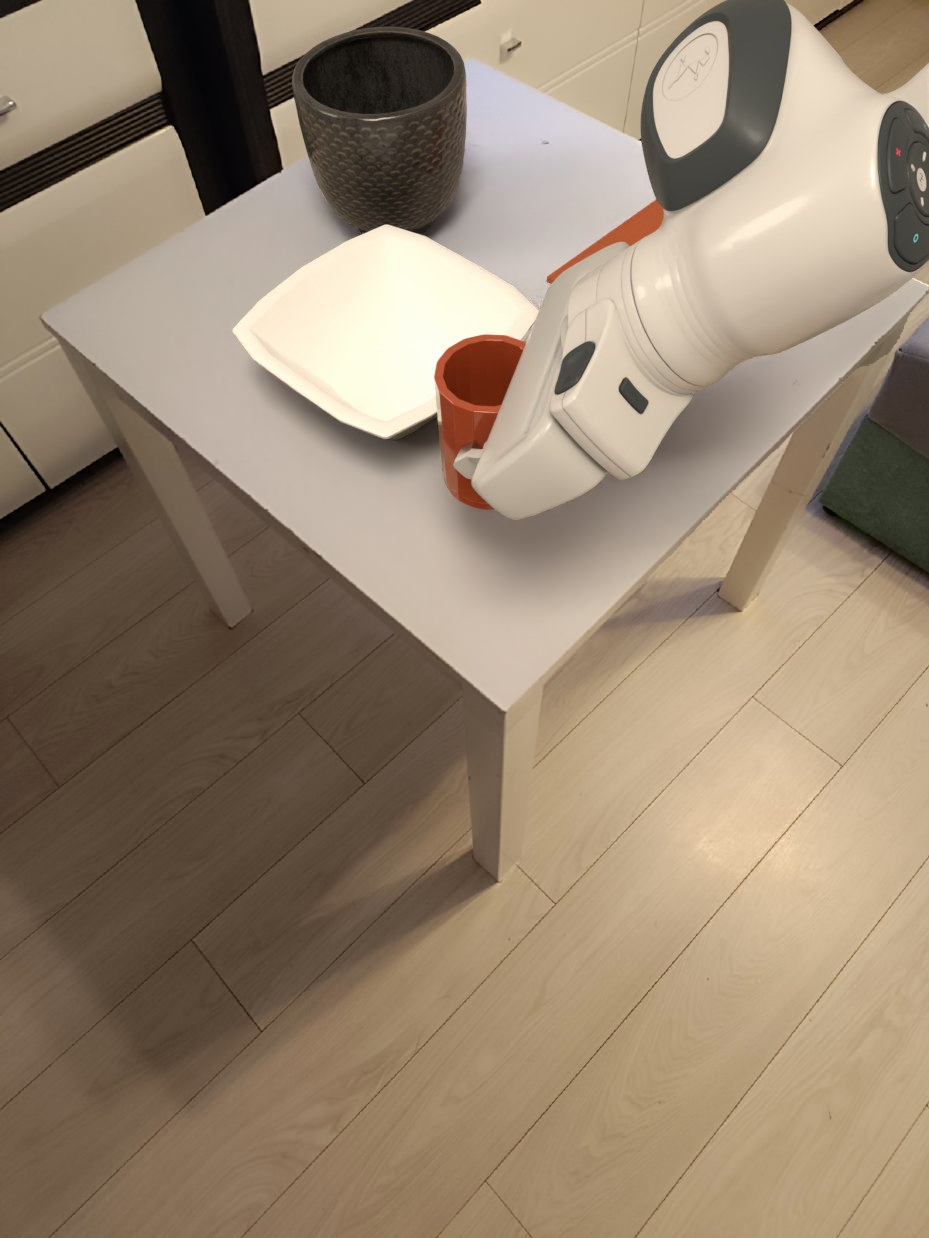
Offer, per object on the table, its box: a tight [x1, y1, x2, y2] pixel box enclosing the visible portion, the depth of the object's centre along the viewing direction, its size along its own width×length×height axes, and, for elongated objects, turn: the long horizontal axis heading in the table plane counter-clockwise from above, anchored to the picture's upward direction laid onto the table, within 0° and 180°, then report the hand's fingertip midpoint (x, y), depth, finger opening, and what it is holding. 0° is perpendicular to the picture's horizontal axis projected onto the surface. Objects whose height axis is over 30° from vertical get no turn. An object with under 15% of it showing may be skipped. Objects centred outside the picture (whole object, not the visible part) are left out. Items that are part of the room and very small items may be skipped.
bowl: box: [231, 225, 540, 441], centre depth 81 cm, size 22×23×8 cm
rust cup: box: [434, 334, 526, 511], centre depth 60 cm, size 7×7×10 cm
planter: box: [291, 26, 468, 235], centre depth 91 cm, size 17×17×16 cm
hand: (481, 419), depth 60 cm, fingers closed on rust cup, 7 cm apart
